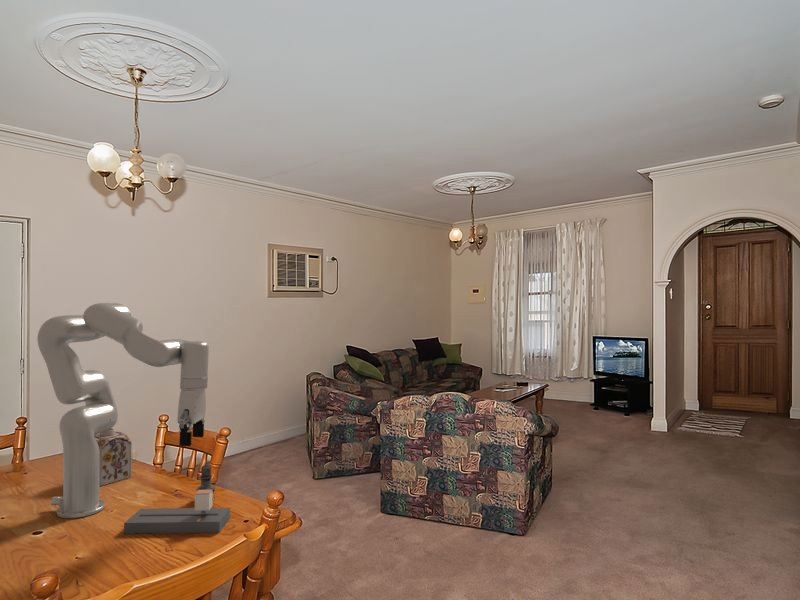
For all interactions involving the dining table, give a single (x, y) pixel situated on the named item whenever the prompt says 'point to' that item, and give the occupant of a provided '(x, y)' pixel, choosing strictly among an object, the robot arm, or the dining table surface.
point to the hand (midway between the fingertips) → (191, 441)
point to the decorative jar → (114, 456)
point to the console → (177, 521)
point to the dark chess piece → (206, 479)
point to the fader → (203, 500)
